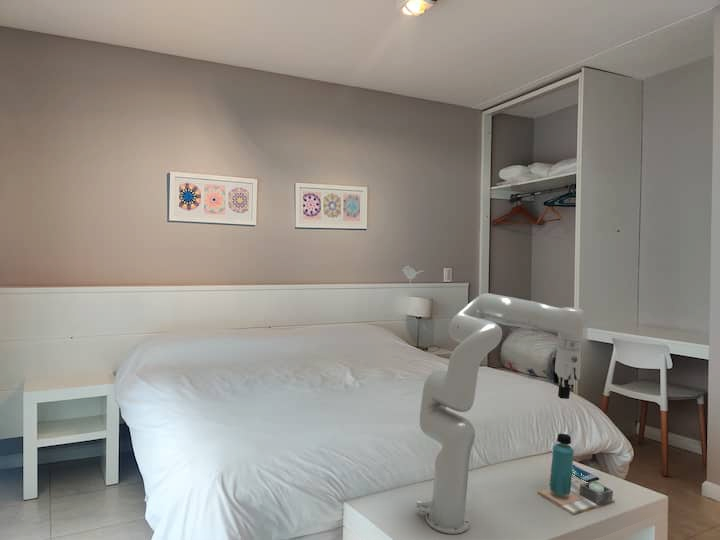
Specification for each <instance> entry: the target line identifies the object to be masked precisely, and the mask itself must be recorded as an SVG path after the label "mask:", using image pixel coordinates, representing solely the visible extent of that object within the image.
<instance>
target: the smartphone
mask: <svg viewBox="0 0 720 540" xmlns="http://www.w3.org/2000/svg"><path fill="white" fill-rule="evenodd" d="M572 469H573V470H574V471H573V472H575V471H576V472H575V474H574V473H573V472H572V474H573V475H575V476H576V477H578V478H580V479H582V480H584V481H586V482H592V481H595V482H597V481H599V480H600V477H598V476H596V475H594V474H592V473H590V472H589V471H586V470H585V469H583V468H580V467H578V466H576V465H574V464H573V465H572ZM581 473H582V476H581ZM573 475H572V476H573ZM583 475H584V476H583ZM575 476H574V477H575ZM585 476H586V477H585ZM576 477H575V478H576ZM578 478H577V479H578ZM580 479H579V480H580ZM582 480H581V481H582ZM596 480H597V481H596ZM584 481H583V482H584ZM586 482H585V483H586Z"/></svg>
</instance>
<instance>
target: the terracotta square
mask: <svg viewBox="0 0 720 540" xmlns="http://www.w3.org/2000/svg"><path fill="white" fill-rule="evenodd" d="M538 492H539V493H541V494H542V495H544V496H546V497H547V498H549V499H551V500H552V501H554V502H556V503H557V504H559V505H561V506H563V505H566V504H569V503H572V502H576V501H579V500H581V499H580V498H578V497H576V496H574V495H573V494H571V493H570V494H569V495H558V494H556V493H554V492H552V491H551V490H550V487H549V488H546V489H543V490H539V491H538Z"/></svg>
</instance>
